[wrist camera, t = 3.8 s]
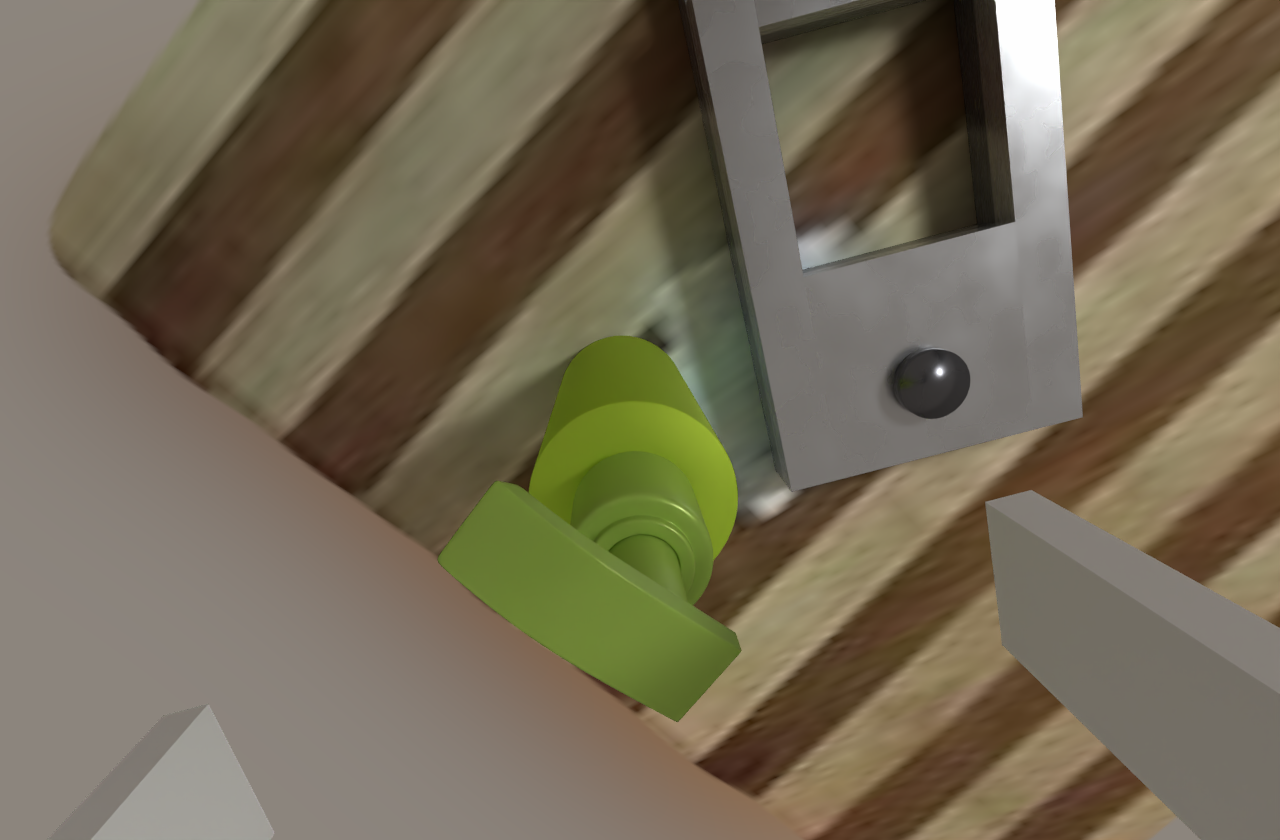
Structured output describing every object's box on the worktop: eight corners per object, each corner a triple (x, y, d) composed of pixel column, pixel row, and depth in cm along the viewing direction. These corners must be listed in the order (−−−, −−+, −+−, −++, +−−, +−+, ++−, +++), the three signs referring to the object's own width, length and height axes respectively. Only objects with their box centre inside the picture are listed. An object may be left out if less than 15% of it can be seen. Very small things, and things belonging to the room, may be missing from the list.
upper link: (681, 16, 26) (692, -18, 23) (1002, -70, 26) (1062, -118, 23) (775, 470, 32) (796, 498, 28) (1042, 402, 32) (1095, 421, 28)
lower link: (636, -200, 24) (639, -243, 22) (982, -295, 24) (1019, -347, 22) (745, 323, 30) (756, 330, 28) (1028, 250, 30) (1061, 250, 28)
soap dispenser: (591, 295, 29) (563, 392, 10) (708, 385, 31) (883, 622, 11) (517, 396, 30) (362, 661, 11) (633, 478, 32) (678, 841, 12)
